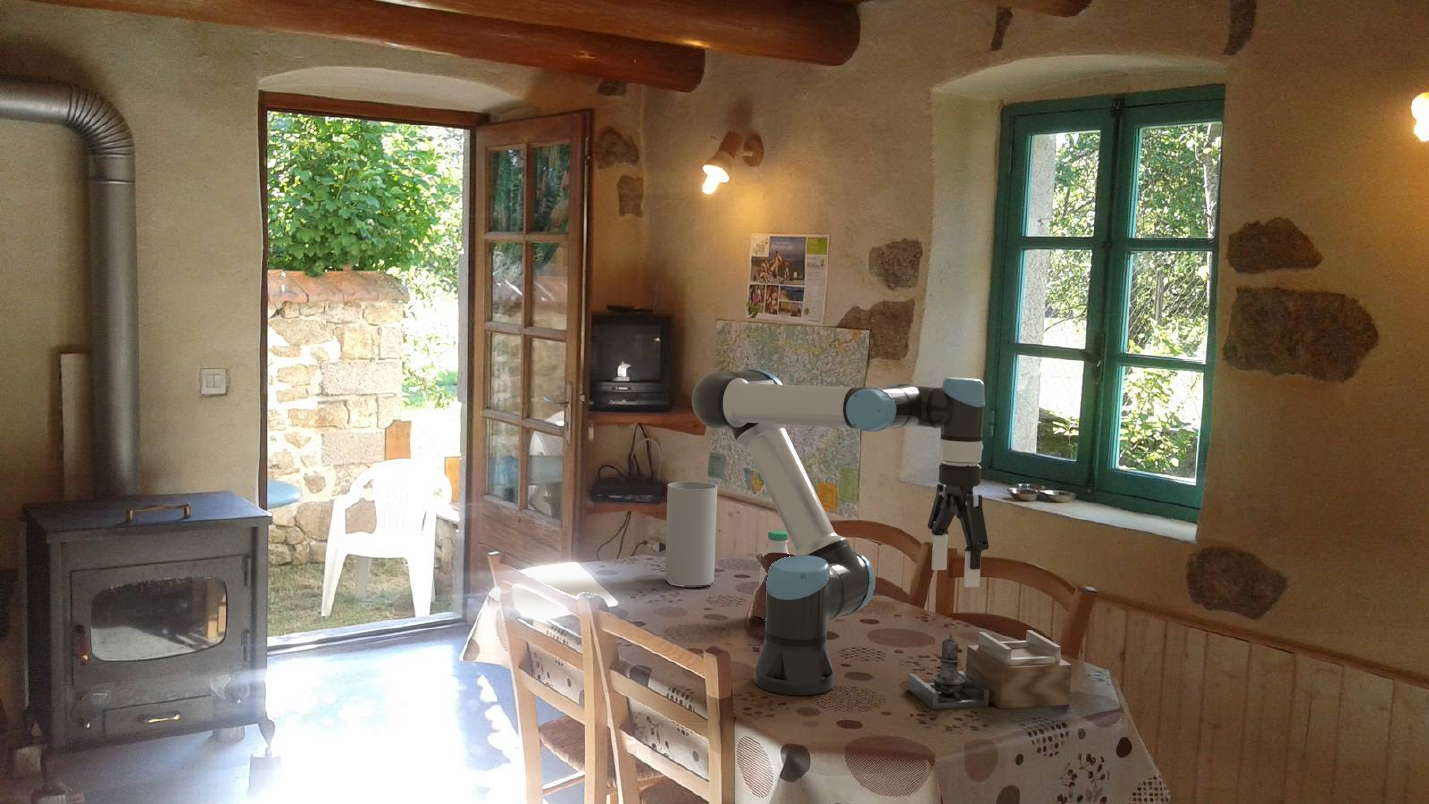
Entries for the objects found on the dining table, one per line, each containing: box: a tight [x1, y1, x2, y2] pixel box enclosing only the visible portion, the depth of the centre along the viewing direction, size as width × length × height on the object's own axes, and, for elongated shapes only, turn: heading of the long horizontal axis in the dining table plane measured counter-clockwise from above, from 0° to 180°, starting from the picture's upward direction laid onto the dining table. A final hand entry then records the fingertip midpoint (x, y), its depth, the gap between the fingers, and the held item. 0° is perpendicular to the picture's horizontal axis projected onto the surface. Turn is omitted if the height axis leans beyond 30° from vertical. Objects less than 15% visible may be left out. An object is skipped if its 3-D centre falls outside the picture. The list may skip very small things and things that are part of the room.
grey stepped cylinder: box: [932, 634, 965, 701], centre depth 220 cm, size 6×6×12 cm
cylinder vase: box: [664, 481, 718, 585], centre depth 302 cm, size 12×12×25 cm
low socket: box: [907, 670, 990, 710], centre depth 221 cm, size 11×11×3 cm
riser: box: [965, 629, 1073, 709], centre depth 224 cm, size 14×14×10 cm
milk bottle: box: [758, 529, 790, 587], centre depth 271 cm, size 8×8×20 cm
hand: (954, 578), depth 219 cm, fingers open, 13 cm apart
